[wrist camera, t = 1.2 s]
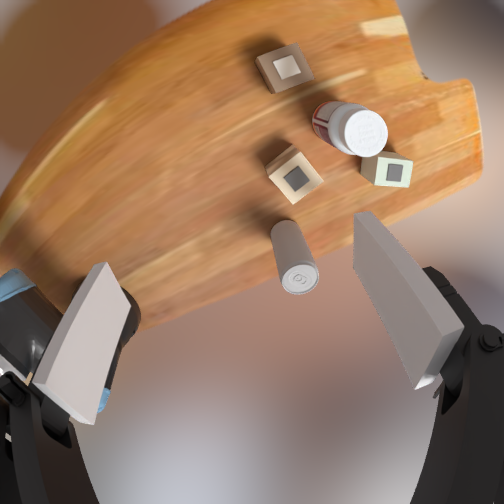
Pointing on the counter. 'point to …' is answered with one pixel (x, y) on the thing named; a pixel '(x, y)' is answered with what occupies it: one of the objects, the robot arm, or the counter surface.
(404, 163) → the sage block
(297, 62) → the walnut block
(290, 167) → the beech block
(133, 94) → the counter surface
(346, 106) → the pill bottle
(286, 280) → the beverage can
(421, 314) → the robot arm
